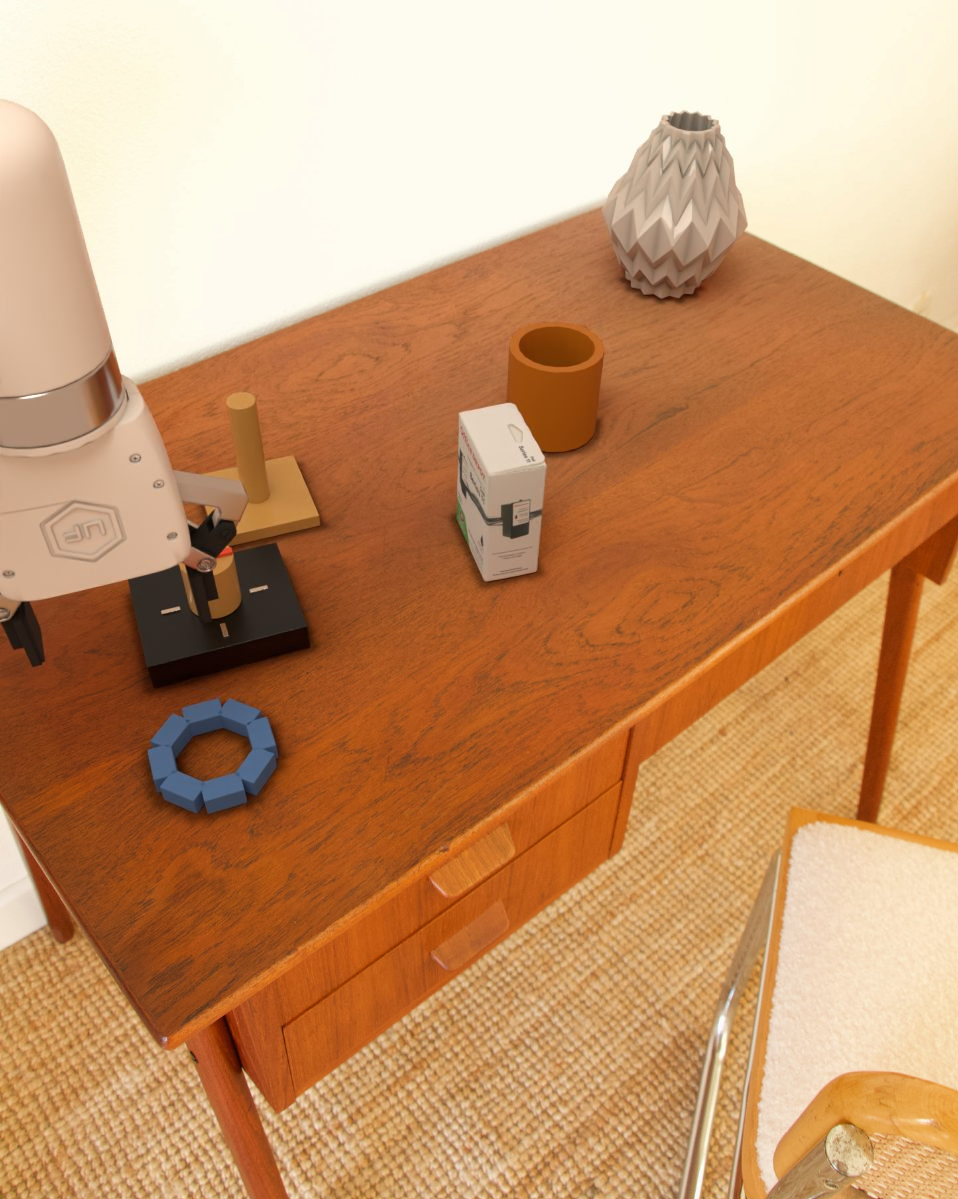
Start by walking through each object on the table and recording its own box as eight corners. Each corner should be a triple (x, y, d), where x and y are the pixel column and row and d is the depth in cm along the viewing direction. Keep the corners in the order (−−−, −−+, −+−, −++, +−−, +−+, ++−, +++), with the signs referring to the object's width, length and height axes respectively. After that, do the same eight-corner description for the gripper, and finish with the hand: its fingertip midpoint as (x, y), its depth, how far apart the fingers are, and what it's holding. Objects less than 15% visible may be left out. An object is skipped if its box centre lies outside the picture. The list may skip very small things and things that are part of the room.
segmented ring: (165, 827, 68) (160, 814, 67) (145, 732, 73) (140, 718, 72) (288, 790, 70) (286, 777, 69) (260, 700, 76) (258, 686, 74)
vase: (721, 252, 127) (754, 96, 113) (739, 321, 115) (778, 156, 102) (590, 245, 127) (609, 88, 114) (595, 314, 115) (616, 148, 102)
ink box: (453, 518, 90) (455, 407, 82) (506, 508, 92) (513, 397, 83) (483, 585, 85) (489, 473, 76) (539, 574, 86) (550, 462, 77)
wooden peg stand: (217, 549, 87) (195, 443, 79) (197, 485, 92) (174, 380, 84) (320, 525, 89) (309, 420, 81) (294, 464, 95) (281, 361, 87)
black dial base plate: (153, 688, 76) (146, 665, 74) (133, 598, 82) (126, 574, 80) (310, 647, 79) (307, 624, 77) (279, 563, 86) (276, 540, 84)
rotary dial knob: (194, 624, 77) (183, 579, 74) (184, 589, 80) (173, 544, 76) (246, 611, 78) (238, 566, 75) (235, 577, 81) (226, 532, 77)
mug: (630, 410, 103) (643, 331, 96) (558, 465, 96) (567, 384, 90) (560, 376, 107) (568, 298, 100) (486, 426, 100) (489, 346, 94)
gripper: (-164, 471, 44) (-30, 715, 56) (237, 392, 48) (279, 633, 61) (-159, 377, 49) (-36, 621, 61) (205, 314, 53) (250, 552, 66)
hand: (121, 627), depth 61 cm, fingers open, 9 cm apart
